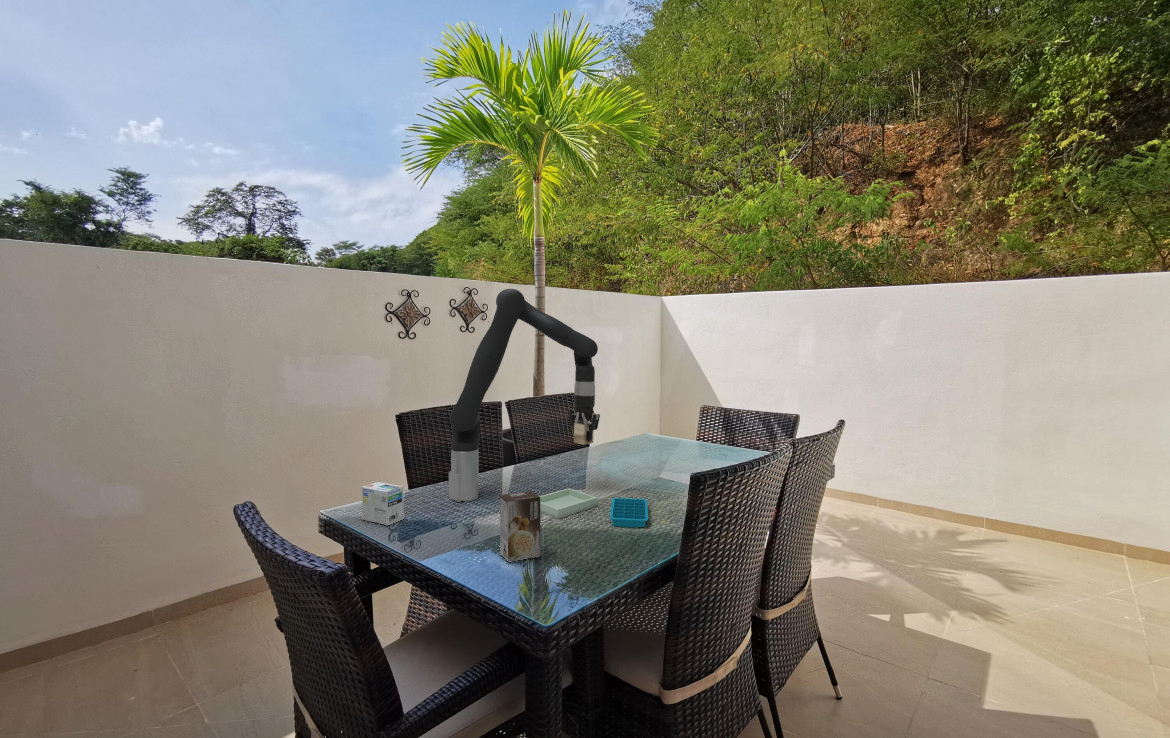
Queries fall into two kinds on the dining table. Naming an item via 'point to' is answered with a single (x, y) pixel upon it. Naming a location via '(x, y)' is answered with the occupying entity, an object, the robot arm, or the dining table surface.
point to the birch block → (580, 434)
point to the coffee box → (520, 526)
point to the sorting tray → (566, 503)
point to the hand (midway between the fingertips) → (583, 439)
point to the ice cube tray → (629, 512)
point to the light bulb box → (383, 503)
